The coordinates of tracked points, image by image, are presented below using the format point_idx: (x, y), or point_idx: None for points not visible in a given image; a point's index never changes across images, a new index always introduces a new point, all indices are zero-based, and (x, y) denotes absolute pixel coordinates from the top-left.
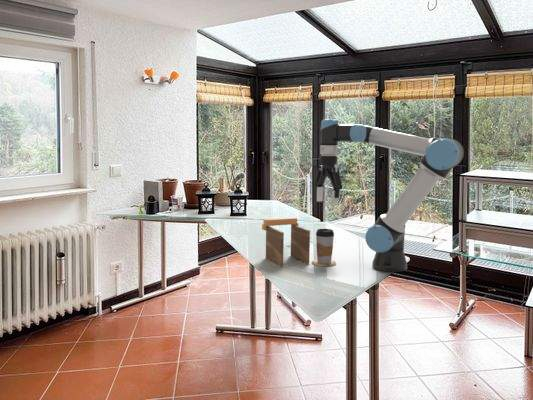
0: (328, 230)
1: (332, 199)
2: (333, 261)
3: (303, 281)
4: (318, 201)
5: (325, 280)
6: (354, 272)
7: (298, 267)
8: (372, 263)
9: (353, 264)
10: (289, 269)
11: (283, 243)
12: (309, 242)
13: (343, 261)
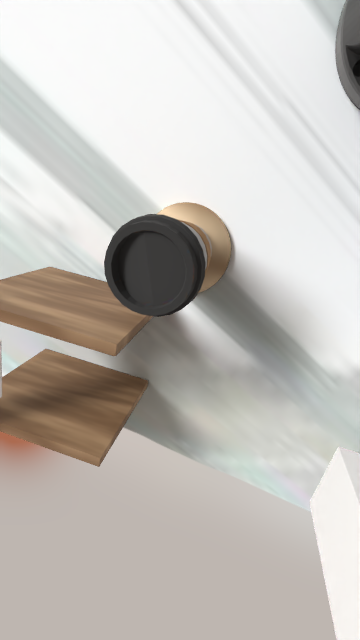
0: (152, 247)
1: (331, 582)
2: (197, 209)
3: (301, 440)
4: (1, 386)
5: (341, 392)
6: (350, 244)
7: (178, 352)
8: (357, 97)
9: (265, 152)
10: (181, 386)
11: (119, 426)
12: (138, 324)
13: (205, 155)
